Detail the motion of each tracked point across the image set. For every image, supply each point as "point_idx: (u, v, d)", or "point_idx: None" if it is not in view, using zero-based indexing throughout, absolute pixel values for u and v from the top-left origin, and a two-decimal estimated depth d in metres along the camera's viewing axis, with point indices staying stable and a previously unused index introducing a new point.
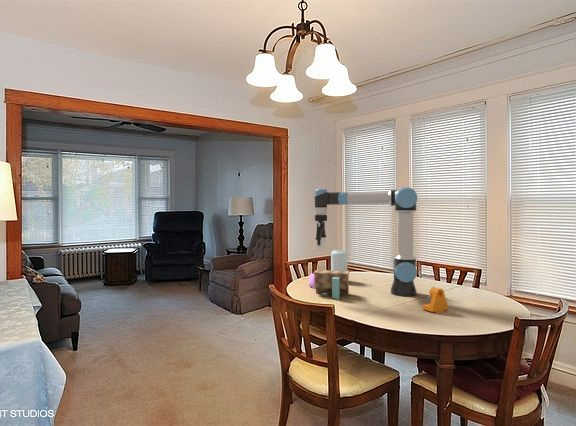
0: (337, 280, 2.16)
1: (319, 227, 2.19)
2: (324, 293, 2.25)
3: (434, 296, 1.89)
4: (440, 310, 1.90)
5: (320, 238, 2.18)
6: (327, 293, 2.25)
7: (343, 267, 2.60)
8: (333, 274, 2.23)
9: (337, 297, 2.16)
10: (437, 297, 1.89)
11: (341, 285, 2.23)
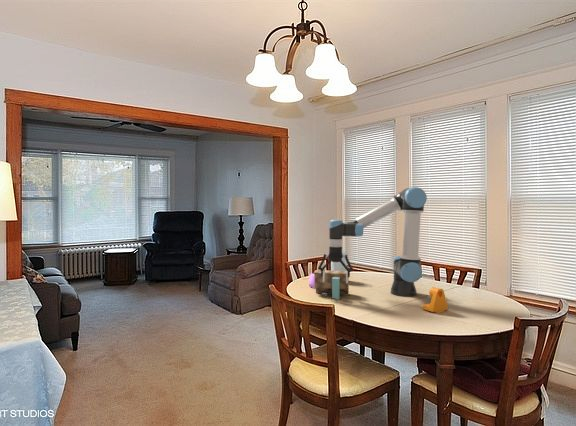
0: (337, 280, 2.16)
1: (323, 258, 2.19)
2: (324, 293, 2.25)
3: (434, 296, 1.89)
4: (440, 310, 1.90)
5: (321, 269, 2.19)
6: (327, 293, 2.25)
7: (343, 267, 2.60)
8: (333, 274, 2.23)
9: (337, 297, 2.16)
10: (437, 297, 1.89)
11: (341, 285, 2.23)
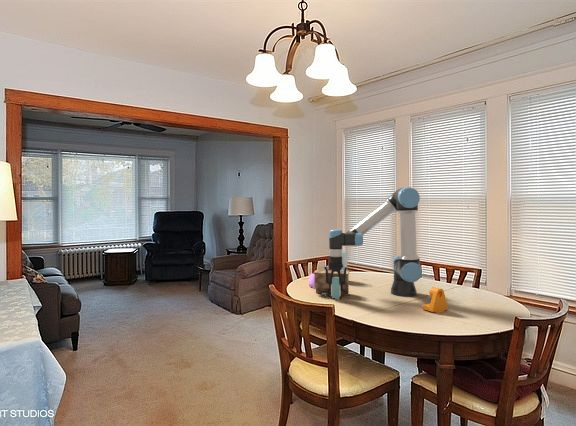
0: (337, 280, 2.16)
1: None
2: (324, 293, 2.25)
3: (434, 296, 1.89)
4: (440, 310, 1.90)
5: (329, 283, 2.18)
6: (327, 293, 2.25)
7: None
8: (333, 274, 2.23)
9: (337, 297, 2.16)
10: (437, 297, 1.89)
11: None
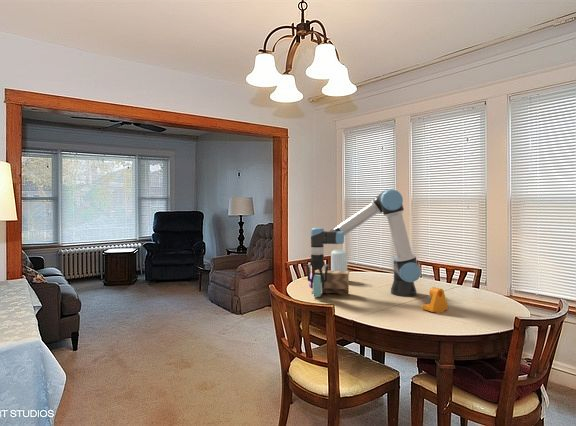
0: (318, 278, 2.18)
1: None
2: None
3: (434, 296, 1.89)
4: (440, 310, 1.90)
5: (310, 281, 2.21)
6: None
7: (343, 267, 2.60)
8: (333, 274, 2.23)
9: (318, 294, 2.19)
10: (437, 297, 1.89)
11: (341, 285, 2.23)
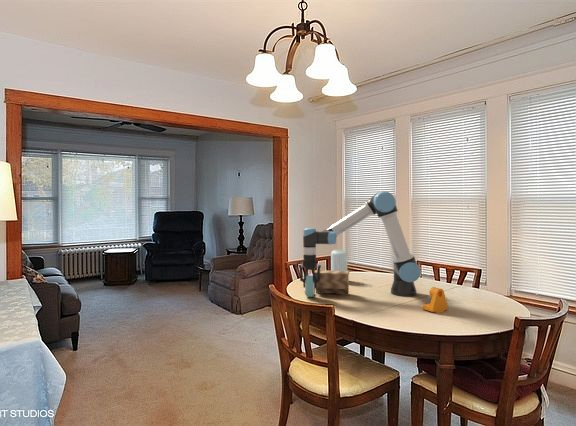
0: (311, 278, 2.20)
1: None
2: None
3: (434, 296, 1.89)
4: (440, 310, 1.90)
5: (303, 281, 2.22)
6: None
7: (343, 267, 2.60)
8: (333, 274, 2.23)
9: (311, 294, 2.20)
10: (437, 297, 1.89)
11: (341, 285, 2.23)
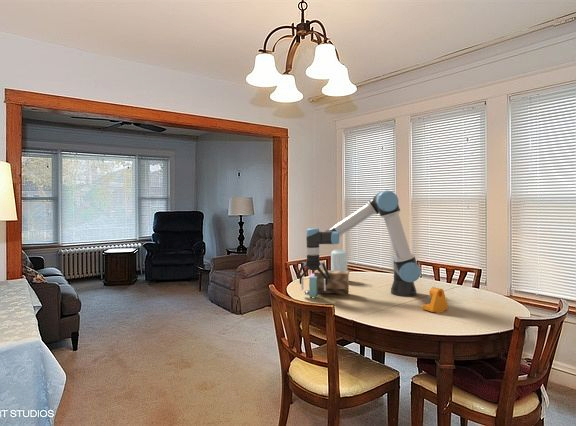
0: (314, 279, 2.19)
1: (301, 266, 2.22)
2: (306, 292, 2.28)
3: (434, 296, 1.89)
4: (440, 310, 1.90)
5: (299, 277, 2.22)
6: None
7: (343, 267, 2.60)
8: (333, 274, 2.23)
9: (314, 296, 2.19)
10: (437, 297, 1.89)
11: (341, 285, 2.23)
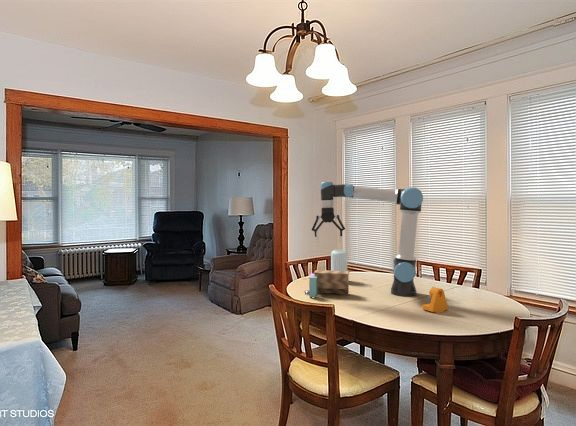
0: (314, 279, 2.19)
1: (316, 219, 2.28)
2: (306, 292, 2.28)
3: (434, 296, 1.89)
4: (440, 310, 1.90)
5: (314, 230, 2.27)
6: None
7: (343, 267, 2.60)
8: (333, 274, 2.23)
9: (314, 296, 2.19)
10: (437, 297, 1.89)
11: (341, 285, 2.23)
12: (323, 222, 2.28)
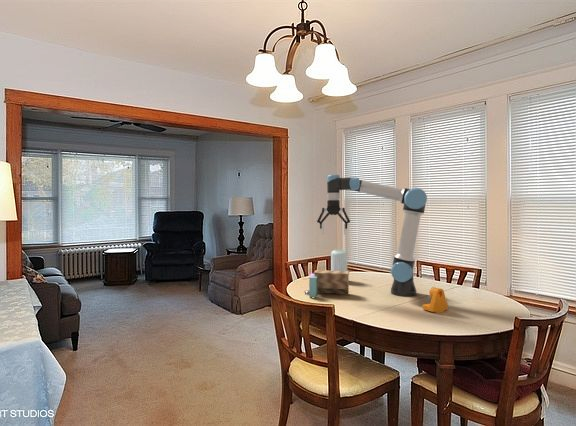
0: (314, 279, 2.19)
1: None
2: (306, 292, 2.28)
3: (434, 296, 1.89)
4: (440, 310, 1.90)
5: (320, 222, 2.30)
6: None
7: (343, 267, 2.60)
8: (333, 274, 2.23)
9: (314, 296, 2.19)
10: (437, 297, 1.89)
11: (341, 285, 2.23)
12: None
